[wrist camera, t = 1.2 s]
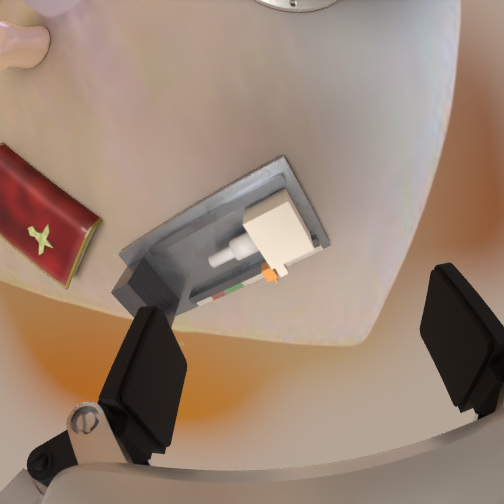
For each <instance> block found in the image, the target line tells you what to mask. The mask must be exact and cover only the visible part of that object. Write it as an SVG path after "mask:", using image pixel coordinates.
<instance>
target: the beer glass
mask: <svg viewBox="0 0 504 504" xmlns="http://www.w3.org/2000/svg"><path fill="white" fill-rule="evenodd" d="M49 44H50V34H49V31H48V30H47V29H46V28H45V27H43V26H33V27H20V26H17V25H14V24H11V23H8V22H5V21H2V20H0V70H2V69H5V68H9V67H21V68H26V69H29V68H33V67H35V66H37V65H38V64H39V63H40V62H41V61H42V60H43V58H44V57H45V55H46V53H47V51H48V48H49Z"/></svg>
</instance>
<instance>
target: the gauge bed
mask: <svg viewBox="0 0 504 504" xmlns="http://www.w3.org/2000/svg"><path fill="white" fill-rule="evenodd" d="M284 188H285V189H286V191H287V192H288V194H289V196H290V198H291V200H292V201H293V203H294V205H295V207H296V209H297V210H298V212H299V214H300V216H301V218H302V219H303V221H304V223H305V225H306V227H307V229H308V231H309V233H310V236H311V239H312V242H313V246H314V249H315V250H313V251H311V252H309V253H307V254H304V255H302V256H300V257H298V258H296V259H294V260H292V261H290V262H287V263H285V264H286V265H287V266H289V265H292V264H294V263H296V262H298V261H300V260H302V259H304V258H307V257H309V256H311V255H313V254H315V253H317V252H319V251H321V250H323V249H324V248H326V247H328V246H330V243H329V240H328V238H327V236H326V234H325V232H324V230H323V228H322V226H321V224H320V222H319V220H318V218H317V216H316V214H315V213H314V211H313V209H312V207H311V205H310V203H309V201H308V199H307V197H306V195H305V193H304V192H303V190H302V188H301V186H300V184H299V182H298V181H297V179H296V177H295V175H294V173H293V171H292V170H291V168H290V166H289V164H288V162H287V161H286V159H285V157H284V155H282V156H280V157H278V158H276V159H274V160H272V161H270V162H268V163H266V164H265V165H263V166H261V167H259V168H257V169H255V170H253V171H252V172H250V173H248V174H246V175H244V176H243V177H241V178H239V179H237V180H235V181H234V182H232V183H230V184H228V185H226V186H225V187H223V188H221V189H219V190H218V191H216V192H214V193H213V194H211V195H209V196H207V197H206V198H204V199H202V200H201V201H199V202H197V203H196V204H194V205H192V206H191V207H189V208H187V209H186V210H184V211H182V212H181V213H179V214H177V215H176V216H174V217H172V218H171V219H169V220H168V221H166V222H164V223H163V224H161V225H160V226H158V227H156V228H155V229H153V230H152V231H150V232H149V233H147V234H145V235H144V236H142V237H141V238H139V239H138V240H136V241H135V242H133V243H132V244H130V245H129V246H127V247H126V248H124V249H123V250H121V252H120V253H119V254H118V255H119V256H120V257H121V258H122V260H123V261H124V262H125V263H126V264H127V268H126V269H125V271H124V273H123V274H122V276H121V277H120V279H119V280H118V282H117V284H116V285H115V287H114V289H113V290H112V292H111V293H112V294H113V295H114V296H115V297H116V299H117V300H118V301H119V302H120V303H121V304H122V305H123V306H124V307H125V308H126V309H127V310H128V311H129V313H130V314H131V315H132V316H133V317H134V318H135V316H136V313H137V311H138V309H139V308H140V307H143V306H154V305H155V306H157V307H158V308H159V309H162V310H163V311H164V314H165V316H166V318H167V320H168V323H169V325H170V327H171V326H172V323H173V320H174V317H175V316H177V315H179V314H181V313H184V312H186V311H188V310H191V309H193V308H195V307H197V306H201V305H203V304H206V303H208V302H210V301H212V300H215V299H218V298H220V297H222V296H224V295H226V294H229V293H231V292H233V291H236V290H238V289H240V288H242V287H244V286H246V285H248V284H250V283H253V282H255V281H257V280H259V279H261V278H263V277H265V276H264V275H263V274H262V272H261V264H263V263H265V262H267V261H266V260H265V258H264V257H263V255H262V254H261V252H260V251H258V252H256V253H254V254H252V255H250V256H248V257H246V258H244V259H242V260H237V259H236V258H233V259H231V260H229V261H227V262H225V263H223V264H221V265H219V266H217V267H215V268H213V267H212V266H211V265H210V263H209V260H208V257H209V256H211V255H213V254H215V253H217V252H219V251H221V250H223V249H225V248H227V247H229V241H231V240H232V239H234V238H236V237H238V236H240V235H242V234H244V233H246V232H247V231H246V229H245V228H244V226H243V217H244V210H245V209H246V208H248V207H250V206H252V205H254V204H256V203H257V202H259V201H261V200H263V199H265V198H267V197H269V196H271V195H273V194H275V193H277V192H278V191H280V190H282V189H284Z"/></svg>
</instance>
